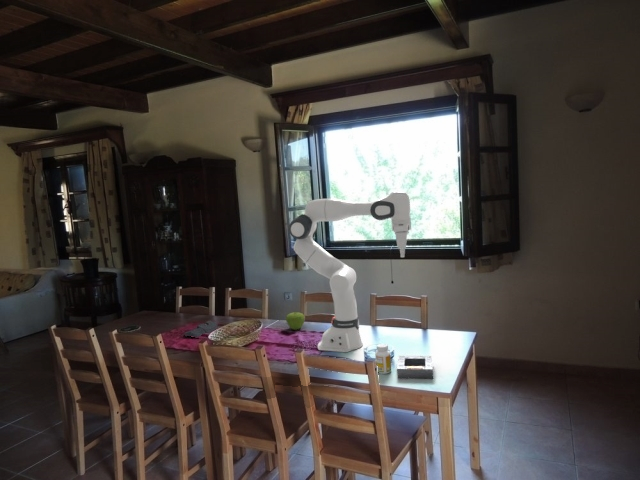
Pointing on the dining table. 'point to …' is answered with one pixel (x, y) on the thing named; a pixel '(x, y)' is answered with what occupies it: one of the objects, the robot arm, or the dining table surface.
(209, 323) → the dark slate chunk
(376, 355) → the supplement bottle
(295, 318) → the apple
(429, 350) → the dining table surface
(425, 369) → the socket holder
